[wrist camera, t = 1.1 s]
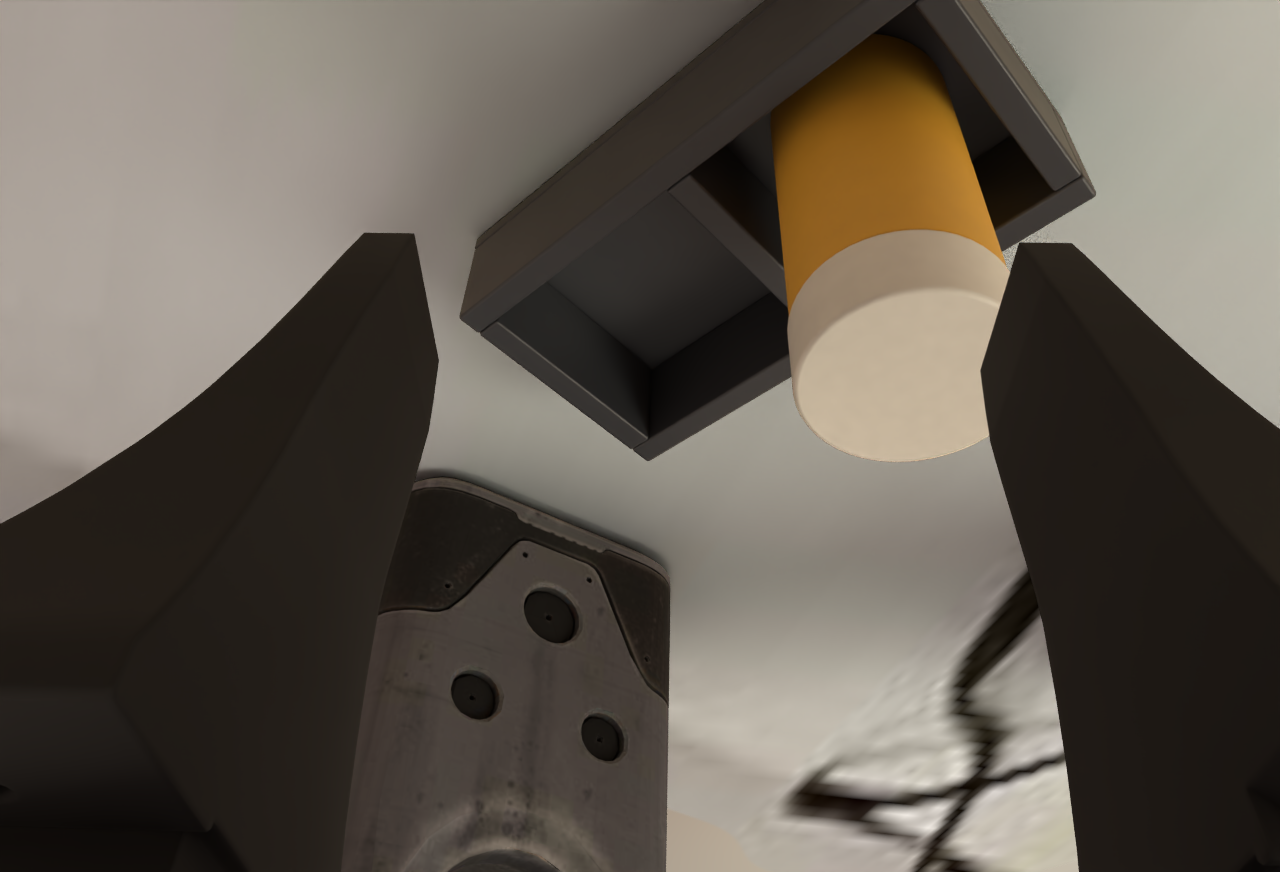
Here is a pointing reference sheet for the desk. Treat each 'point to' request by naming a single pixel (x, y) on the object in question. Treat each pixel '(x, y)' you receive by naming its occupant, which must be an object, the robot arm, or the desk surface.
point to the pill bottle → (885, 257)
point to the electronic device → (512, 697)
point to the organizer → (730, 216)
